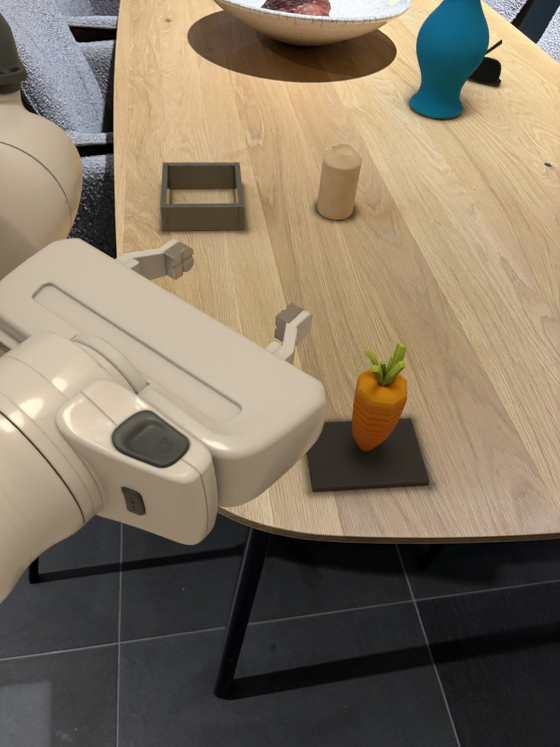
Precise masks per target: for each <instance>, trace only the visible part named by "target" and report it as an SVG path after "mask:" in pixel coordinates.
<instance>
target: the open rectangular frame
mask: <svg viewBox="0 0 560 747" xmlns="http://www.w3.org/2000/svg"><path fill="white" fill-rule="evenodd" d="M161 165H162V167H161V188H160V208H159V209H160V216H161V224H162V225H161V227H162V231H164V232H184V231H185V232H186V231H194V232H195V231H244V230H245V200H244V192H243V191H244V190H243V183H242V172H241V171H242V170H241V163H240V161H235V162H233V161H232V162H231V161H230V162H229V161H228V162H223V161H222V162H221V161H220V162H217V161H216V162H212V161H210V162H205V161H204V162H201V161H200V162H199V161H198V162H197V161H195V162H194V161H193V162H174V161H173V162H166V161H165V162H164V161H163V162H162V164H161ZM171 189H234V196H235V203H234V202H233V203H232V202H230V203H229V202H228V203H227V202H223V203H222V202H221V203H220V202H219V203H217V202H215V203H171V202H170V200H171V198H170V197H171Z"/></svg>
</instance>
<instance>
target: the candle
mask: <svg viewBox="0 0 560 747" xmlns="http://www.w3.org/2000/svg"><path fill="white" fill-rule="evenodd" d="M362 162H363V160H362V157H361V156H360V154H359V153H358V152H357V151H356V150H355V149H354V147H353V146H352V145H351V144H346V143H345V144H344V143H339V144H337V145H336V146H332V147H331V148H330V149H328V150H327V151H325V153H323V156H322V162H321V163H322V164H321V172H320V180H319V188H318V196H317V204H316V206H317V207H316V208H317V212H318V213H319V215H321V216H322V217H323V218H327V219H329V220H334V221H342V220H345V219H348V218H350V217H351V215H352V214H353V212H354V208H355V203H356V202H355V201H356V197H357V191H358V184H359V178H360V173H361V168H362Z"/></svg>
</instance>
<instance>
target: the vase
mask: <svg viewBox="0 0 560 747" xmlns="http://www.w3.org/2000/svg"><path fill="white" fill-rule="evenodd" d="M415 43H416V44H415V54H416V59H417V63H418V68H419V71H420V84H419V85H420V86H419V87H418V90H417V91H416V92H415V93H414V94H413V95H412V96H411V97H410V98H409V105H410V106H411V108H412V110H414V111H415V112H416V113H418V114H419V115H422V116H425V117H428V118H432V119H438V120H439V119H443V120H446V119H447V120H448V119H452V118H453V119H454V118H456V117H457V116H459V115H460V114H462V113H463V111H464V107H463V103H462V101H461V92H462V89H463V87H464V86H465V84H466V82H467V81H468V80H469V79H468V78H469V77H470V76H471V75H472V74H473V73H474V71H475V70H476V69H477V68H478V67H479V65H480V64H481V62H482V61H483V59H484V57H486V52H487V50H488V49H489V45H490V29H489V25H488V21H487V18H486V17H485V13H484V9H483V6H482V2H481V0H442V1H441V2H440V3H439V4H438V6H437V7H436V8H435V9H434V10H432V11H431V12H430V14H428V16H427V17H426V18H425V20H424V21H423V22H422V24H421V26H420V27H419V30H418V33H417V37H416V42H415Z"/></svg>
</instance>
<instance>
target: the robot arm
mask: <svg viewBox="0 0 560 747" xmlns="http://www.w3.org/2000/svg"><path fill="white" fill-rule="evenodd" d="M17 47H18V46H17V44H16V40H15V36H14V33H13V31H12V28H11V25H10V24H9V22H8V21H7V20H6V18H5V16H3V14H2V13H1V12H0V604H2V603H3V602H4V601H5V600H6V599H7V598H8V596H9V595H10V594H11V593H12V591H13V589H14V588H15V586H16V585H17V583H18V582H19V580H20V578H21V577H22V575H23V574H24V573H25V571H26V570H27V569H28V568H29V567H30V566H31V564H32V563H33V562H34V561H35V560H36V559H37V558H39V557H40V556H41V555H42V554H43V553H44V552H45V551H47V550H48V549H50V548H51V547H53V546H55V545H56V544H58V543H60V542H62V541H64V540H66V539H68V538H69V537H71V536H73V535H75V534H76V533H77V532H79V531H80V530H81V529H82V528H83V527H84V526H85V525H86V524H87V523H88V522H89V521H90V520H92V518H94V517H95V516H98V517H101V518H104V519H108V520H112V521H115V522H118V523H122V524H125V525H128V526H131V527H134V528H136V529H140V530H143V531H145V532H148V533H151V534H153V535H157V536H160V537H162V538H164V539H166V540H167V539H168V540H170V541H172V542H175V543H178V544H182V545H186V546H194V545H197V544H199V543H200V542H202V541H203V540H205V538H206V537H207V536H208V535H209V534H210V533H211V532H212V530H213V528H214V526H215V524H216V521H217V520H216V519H217V515H218V507H221V508H234V507H235V508H236V507H240V506H242V505H245V504H247V503H249V502H251V501H253V500H255V499H256V498H258V497H259V496H261V495H262V494H263V493H264V492H266V491H267V490H268V489H269V488H270V487H272V486H273V485H275V483H277V482H278V481H279V480H280V479H281V478H282V477H283V476H285V474H286V473H288V472H289V471H290V470H291V469H292V468H293V467H294V466H295V465H296V464H297V463H298V462H299V461H300V460H301V459H302V458H303V457H304V456H305V454H307V451H308V450H309V449H310V448H311V447H312V446H313V444H314V443H315V442H316V441H317V439H318V438H319V436H320V434H321V432H322V429H323V425H324V422H326V418H327V417H326V416H327V408H328V404H327V392H326V388H325V385H324V384H323V383H322V381H320V380H319V379H317V378H315V377H314V376H312V375H311V374H309V373H307V372H305V371H304V370H302V369H300V368H299V367H297V366H295V365H294V360H295V353H296V347H298V345H299V344H300V343H301V342H302V341H303V340H304V339H306V338H307V336H308V335H309V333H310V332H311V329H312V324H313V318H314V315H313V314H312V313H311V312H309V311H307V310H306V309H304V308H302V307H300V306H299V305H296V304H295V303H293V302H292V303H289V304H288V305H287V306H286V309H282V310H281V311H280V312H279V313H278V314H276V315H275V322H274V324H275V327H276V328H275V329H274V338H275V339H276V340H278V341H280V342H281V343H282V345H281V343H279V342H277V341H276V340H273V341H271V342H270V343H269V344H268V345H267V346H266V347H263V346H261V345H260V344H259V343H256V342H255V341H253V340H252V339H250V338H248V337H246V336H244V335H243V334H241V333H239V332H238V331H236V330H234V329H233V328H231V327H230V326H228V325H226V324H225V323H223V322H221V321H219V320H217V319H215V318H214V317H212V316H211V315H209V314H207V313H206V312H204V311H203V310H200V309H199V308H198V307H196V306H194V305H192V304H190V303H189V302H187V301H186V300H184V299H183V298H180V297H179V296H177V295H175V294H174V293H172V292H171V291H169V290H167V289H165V288H163V287H162V286H160V285H158V284H157V283H155V282H154V281H152V280H156V279H160V278H162V277H166V276H168V277H170V278H171V279H173V280H175V281H177V280H178V279H180V278H181V277H182V276H183V275H184V273H188V272H189V271H190V270H192V268H193V267H194V265H195V264H194V263H195V259H194V256H193V255H194V249H193V248H192V247H190V246H188V245H187V244H185V243H184V242H182V241H180V240H178V239H176V238H172V239H170V240H169V241H167V242H166V243H164V244H162V245H161V246H160V247H158V248H149V249H141V250H136V251H129V252H124V253H122V254H121V255H119V256H117V257H116V258H114V257H111V256H110V255H108V254H106V253H105V252H103V251H102V250H99V249H98V248H96V247H94V246H93V245H91V244H89V243H88V242H86V241H85V240H83V239H81V238H78V237H72V238H69V236H70V233H71V231H72V229H73V227H74V223H75V220H76V217H77V214H78V211H79V208H80V203H81V197H82V190H83V177H84V171H83V170H84V169H83V164H82V159H81V155H80V153H79V151H78V148H77V146H76V145H75V143H74V141H73V140H72V139H71V138H70V136H69V135H68V134H67V133H66V132H65V131H64V130H63V129H62V128H61V127H60V126H58V124H56V123H54V121H51V120H50V119H48V118H46V117H43V116H42V115H39V114H36V113H33V112H30V111H29V110H28V109H27V108H25V106H24V104H23V101H22V96H21V89H22V84H23V81H26V80H27V79H28V77H29V75H28V72H27V69H26V67H25V65H24V63H23V62H22V60H21V58H20V55H19V52H18V48H17Z"/></svg>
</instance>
